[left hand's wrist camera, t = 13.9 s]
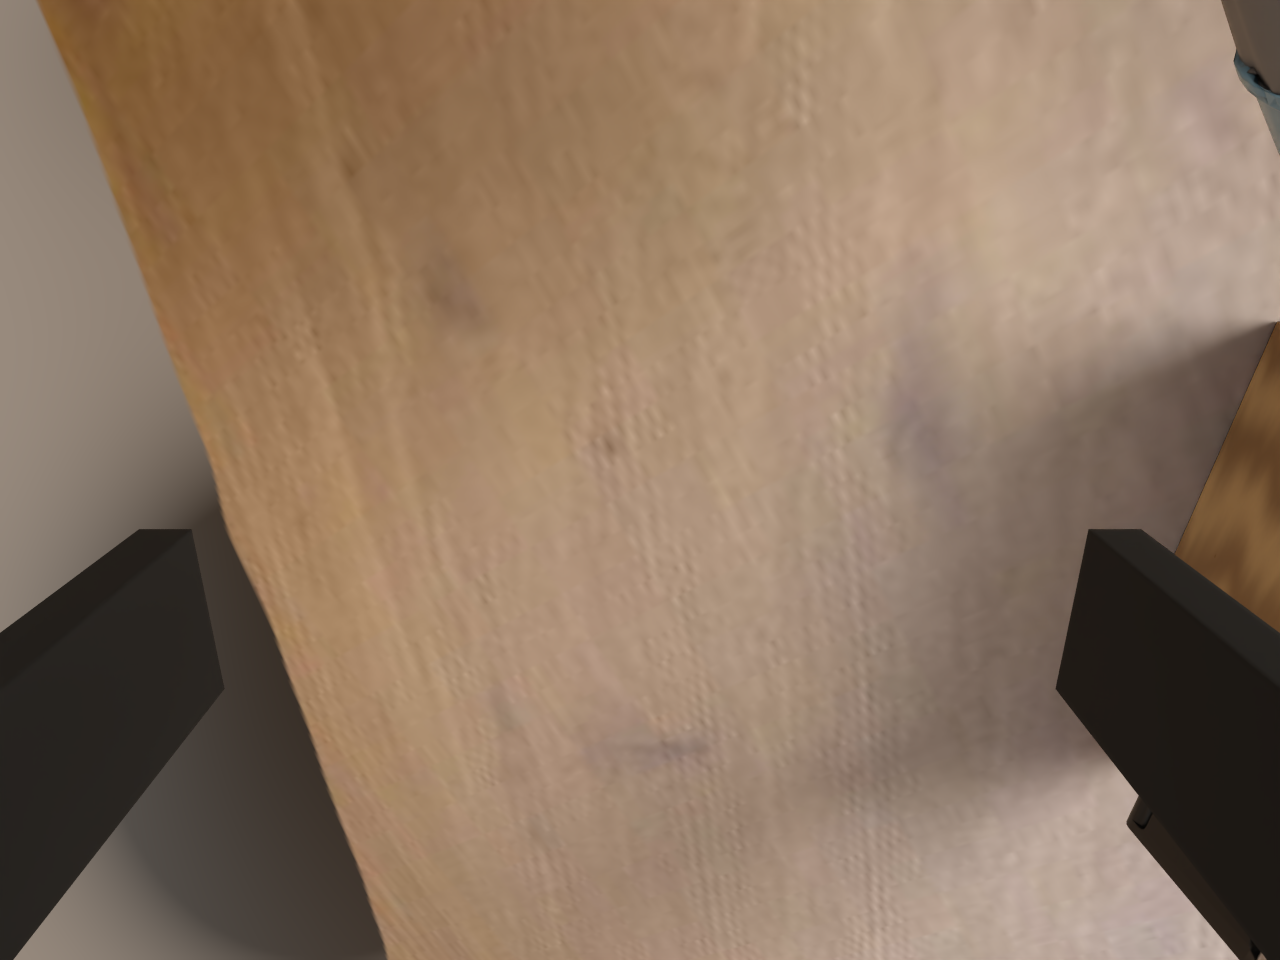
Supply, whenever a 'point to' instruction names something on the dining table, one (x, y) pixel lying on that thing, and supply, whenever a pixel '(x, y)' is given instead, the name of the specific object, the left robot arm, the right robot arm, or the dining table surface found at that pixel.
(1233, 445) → the bar
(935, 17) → the dining table surface
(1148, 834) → the right robot arm
